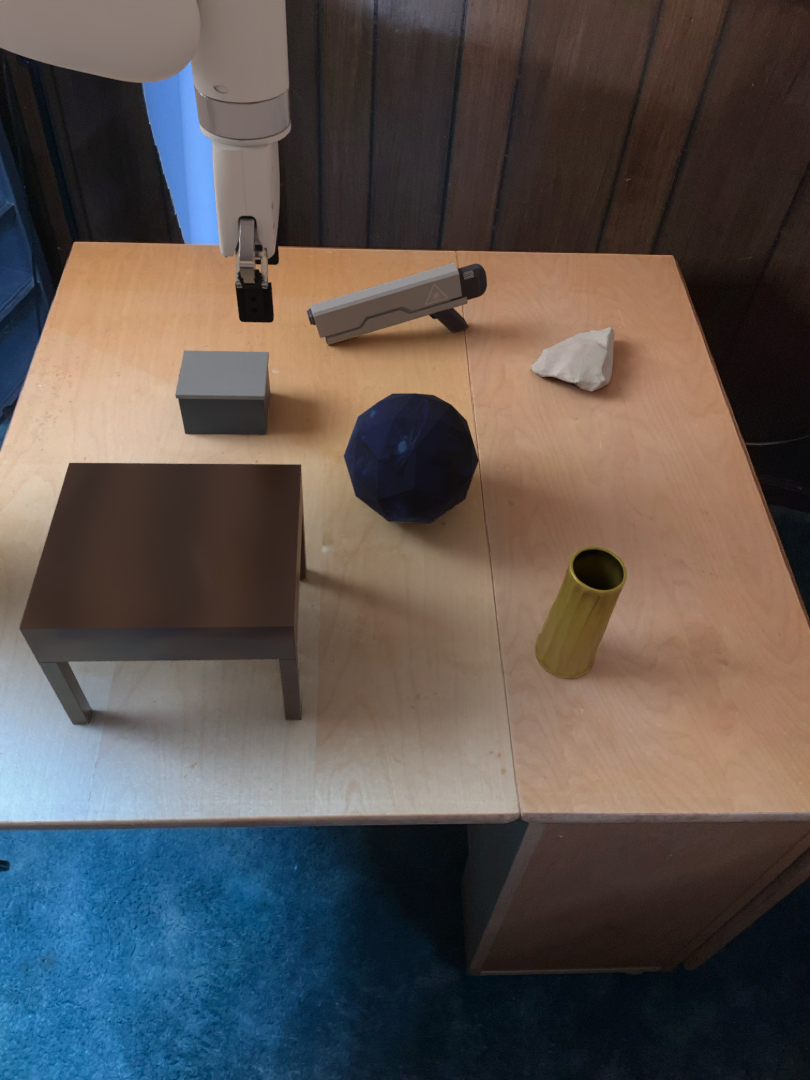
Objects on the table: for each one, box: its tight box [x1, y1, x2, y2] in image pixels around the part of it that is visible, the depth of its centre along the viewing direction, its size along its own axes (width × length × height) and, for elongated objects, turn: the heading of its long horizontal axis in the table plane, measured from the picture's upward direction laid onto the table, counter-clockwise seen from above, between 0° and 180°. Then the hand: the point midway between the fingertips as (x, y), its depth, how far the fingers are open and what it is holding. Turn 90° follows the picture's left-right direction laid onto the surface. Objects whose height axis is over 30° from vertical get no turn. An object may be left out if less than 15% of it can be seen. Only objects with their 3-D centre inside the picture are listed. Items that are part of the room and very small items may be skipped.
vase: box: [534, 545, 628, 679], centre depth 77 cm, size 6×6×14 cm
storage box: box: [174, 349, 271, 436], centre depth 100 cm, size 10×8×6 cm
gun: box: [306, 262, 488, 346], centre depth 112 cm, size 2×25×10 cm, turn 104°
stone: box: [530, 326, 615, 392], centre depth 112 cm, size 11×4×15 cm
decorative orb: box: [343, 392, 480, 524], centre depth 89 cm, size 14×15×15 cm
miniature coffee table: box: [18, 462, 308, 725], centre depth 75 cm, size 21×20×16 cm
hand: (260, 290), depth 79 cm, fingers open, 9 cm apart
